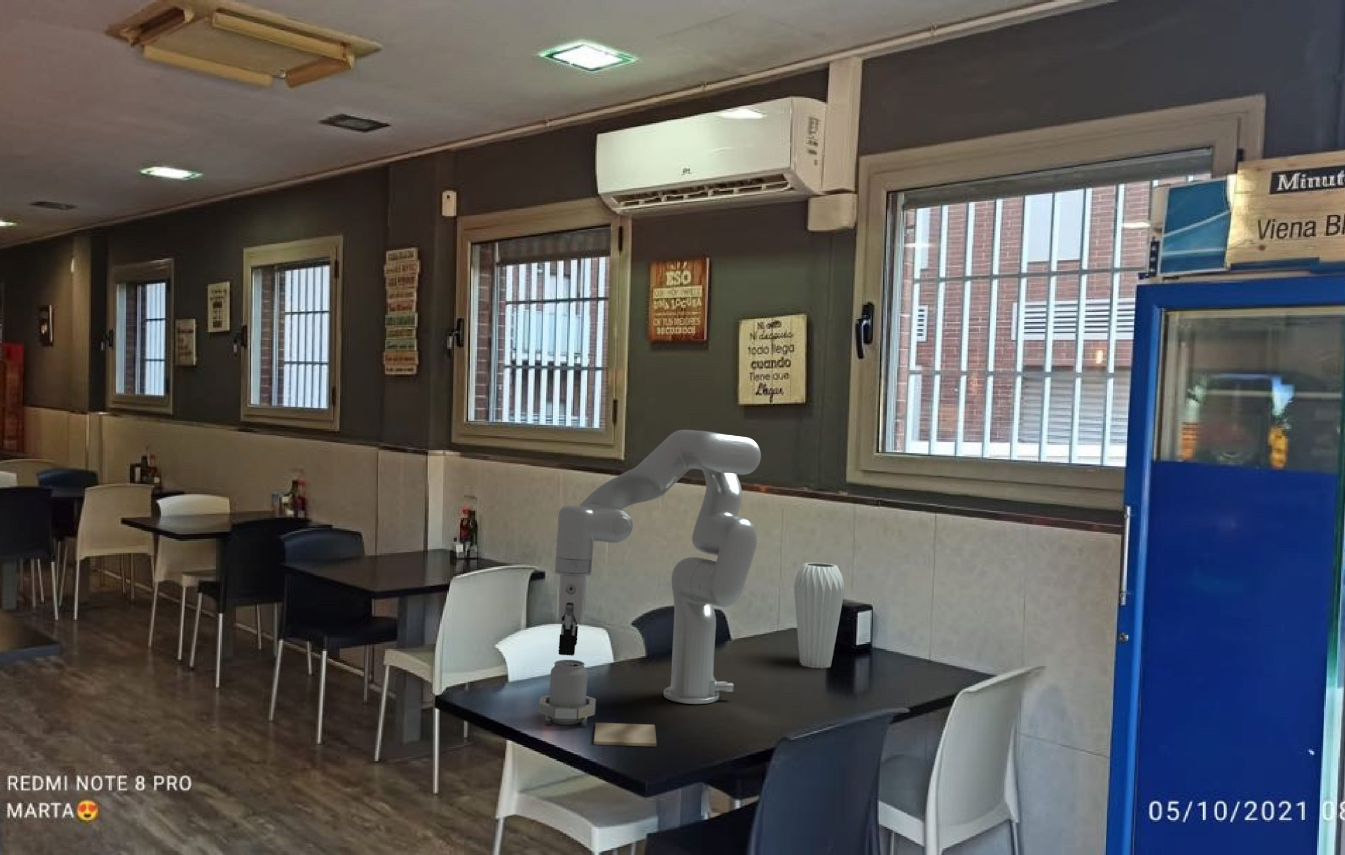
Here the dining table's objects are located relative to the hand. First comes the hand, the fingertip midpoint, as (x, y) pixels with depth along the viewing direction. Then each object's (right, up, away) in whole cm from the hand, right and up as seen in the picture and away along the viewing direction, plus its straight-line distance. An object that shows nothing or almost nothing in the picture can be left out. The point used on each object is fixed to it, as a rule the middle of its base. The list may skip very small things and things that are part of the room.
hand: (567, 649), depth 215 cm
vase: (+59, -17, +60) cm, 86 cm away
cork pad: (+12, -15, -8) cm, 21 cm away
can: (0, -15, +1) cm, 15 cm away
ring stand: (0, -15, +1) cm, 15 cm away
